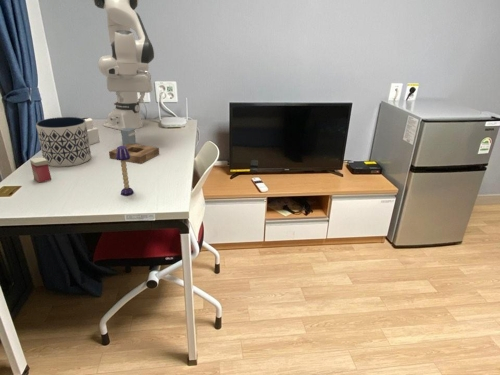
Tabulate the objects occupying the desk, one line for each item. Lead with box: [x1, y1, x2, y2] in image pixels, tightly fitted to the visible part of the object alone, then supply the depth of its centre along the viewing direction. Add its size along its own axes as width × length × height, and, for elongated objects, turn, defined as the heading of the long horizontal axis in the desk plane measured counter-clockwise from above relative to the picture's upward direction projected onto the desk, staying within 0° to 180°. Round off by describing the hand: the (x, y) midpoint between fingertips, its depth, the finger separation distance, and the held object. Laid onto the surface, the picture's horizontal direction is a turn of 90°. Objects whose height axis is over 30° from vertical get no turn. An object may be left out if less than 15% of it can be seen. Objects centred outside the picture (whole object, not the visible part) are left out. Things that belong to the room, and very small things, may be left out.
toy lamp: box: [115, 145, 135, 197], centre depth 117 cm, size 5×5×17 cm
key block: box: [120, 128, 137, 146], centre depth 167 cm, size 5×5×8 cm
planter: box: [35, 116, 92, 168], centre depth 144 cm, size 18×18×16 cm
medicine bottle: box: [81, 117, 100, 146], centre depth 167 cm, size 7×7×12 cm
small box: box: [29, 156, 52, 183], centre depth 126 cm, size 5×4×8 cm
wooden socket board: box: [108, 143, 160, 165], centre depth 154 cm, size 16×14×3 cm
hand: (131, 102), depth 157 cm, fingers open, 8 cm apart
